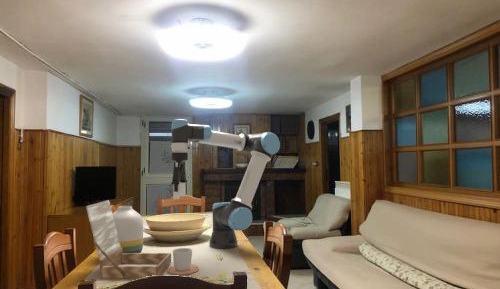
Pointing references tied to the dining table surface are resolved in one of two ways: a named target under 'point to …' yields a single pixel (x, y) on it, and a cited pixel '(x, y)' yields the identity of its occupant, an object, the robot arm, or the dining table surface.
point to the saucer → (190, 271)
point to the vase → (129, 229)
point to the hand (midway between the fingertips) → (179, 197)
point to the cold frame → (119, 248)
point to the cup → (182, 259)
